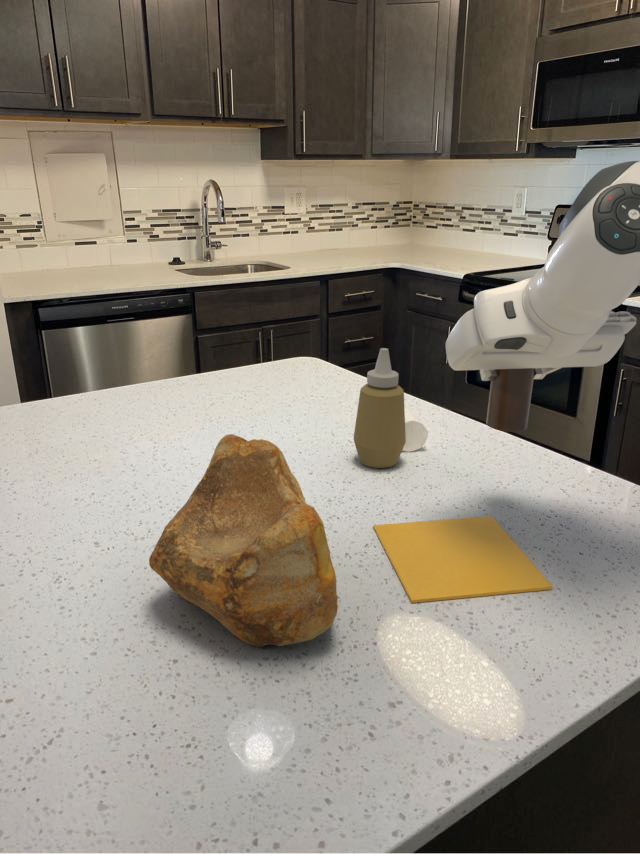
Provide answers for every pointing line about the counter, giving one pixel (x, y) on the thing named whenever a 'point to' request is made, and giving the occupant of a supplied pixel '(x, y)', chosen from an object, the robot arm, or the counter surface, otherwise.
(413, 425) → the roll
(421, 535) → the yellow square plate
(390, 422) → the squeeze bottle
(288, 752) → the counter surface
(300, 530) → the rough brown rock
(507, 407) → the pepper mill
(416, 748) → the counter surface
